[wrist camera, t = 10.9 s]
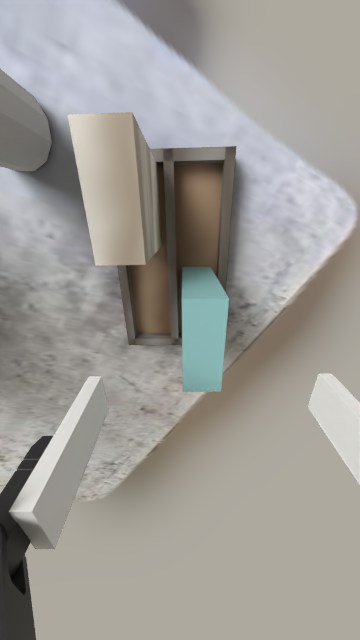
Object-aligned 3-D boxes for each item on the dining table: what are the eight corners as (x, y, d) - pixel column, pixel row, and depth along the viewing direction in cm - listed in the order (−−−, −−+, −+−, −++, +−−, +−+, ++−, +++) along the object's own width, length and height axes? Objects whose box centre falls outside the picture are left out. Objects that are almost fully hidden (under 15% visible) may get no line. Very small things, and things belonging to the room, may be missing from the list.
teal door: (183, 330, 30) (182, 391, 20) (182, 266, 27) (181, 299, 16) (207, 330, 30) (220, 391, 20) (210, 266, 27) (229, 298, 16)
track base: (132, 336, 32) (103, 403, 20) (109, 157, 23) (29, 90, 11) (218, 335, 32) (239, 402, 20) (230, 153, 22) (282, 80, 11)
